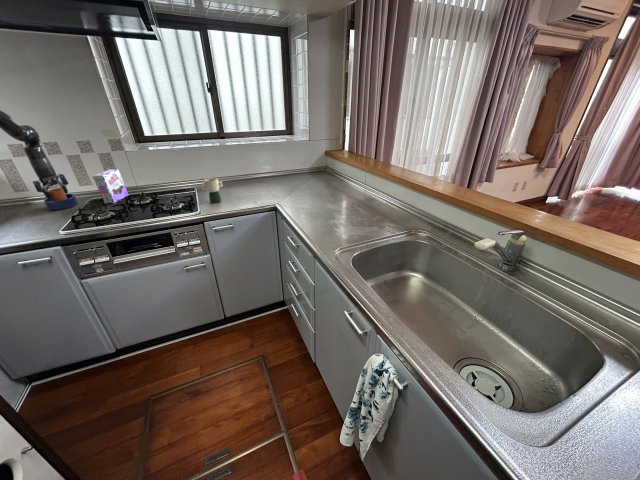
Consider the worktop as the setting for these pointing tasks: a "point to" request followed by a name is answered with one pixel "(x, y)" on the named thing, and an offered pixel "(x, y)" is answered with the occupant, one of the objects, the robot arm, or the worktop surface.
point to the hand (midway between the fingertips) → (58, 195)
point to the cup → (57, 194)
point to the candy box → (111, 186)
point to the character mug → (213, 188)
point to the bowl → (61, 203)
